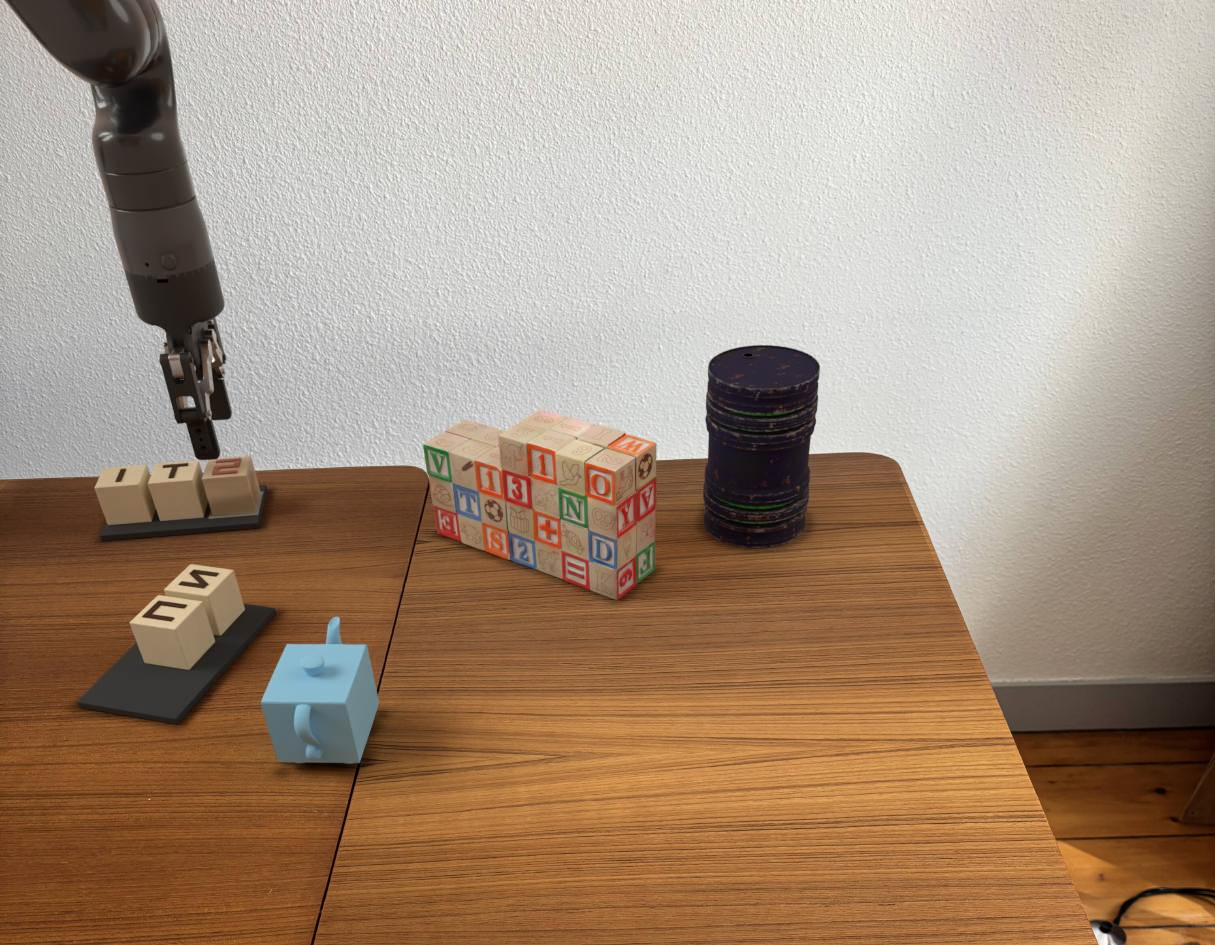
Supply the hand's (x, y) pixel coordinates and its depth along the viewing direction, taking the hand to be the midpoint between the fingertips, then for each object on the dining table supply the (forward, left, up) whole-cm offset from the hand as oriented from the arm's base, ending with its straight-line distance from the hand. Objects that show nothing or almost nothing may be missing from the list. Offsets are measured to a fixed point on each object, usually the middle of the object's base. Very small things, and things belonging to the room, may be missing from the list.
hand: (215, 437), depth 108 cm
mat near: (+9, -24, -8) cm, 27 cm away
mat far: (-4, -2, -8) cm, 9 cm away
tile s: (0, 0, -7) cm, 7 cm away
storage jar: (+51, +9, -8) cm, 52 cm away
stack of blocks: (+33, -1, -8) cm, 34 cm away
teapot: (+26, -30, -8) cm, 40 cm away
